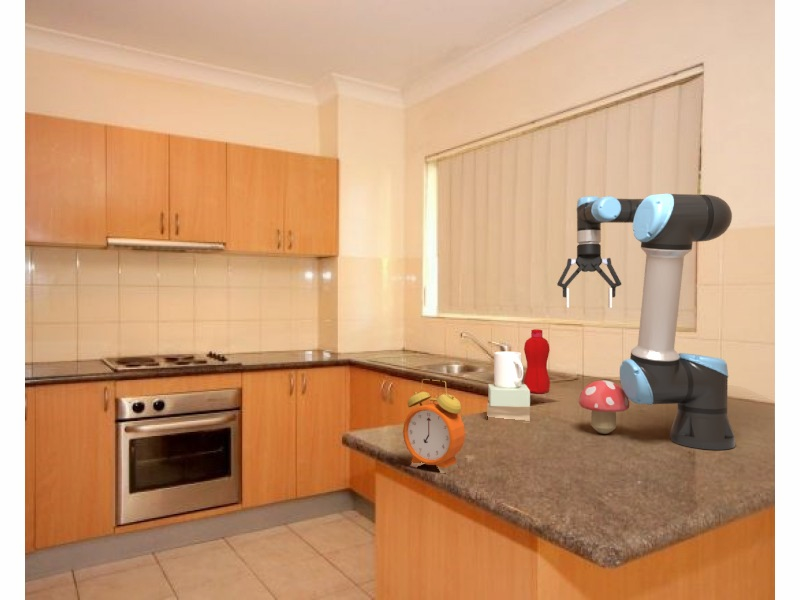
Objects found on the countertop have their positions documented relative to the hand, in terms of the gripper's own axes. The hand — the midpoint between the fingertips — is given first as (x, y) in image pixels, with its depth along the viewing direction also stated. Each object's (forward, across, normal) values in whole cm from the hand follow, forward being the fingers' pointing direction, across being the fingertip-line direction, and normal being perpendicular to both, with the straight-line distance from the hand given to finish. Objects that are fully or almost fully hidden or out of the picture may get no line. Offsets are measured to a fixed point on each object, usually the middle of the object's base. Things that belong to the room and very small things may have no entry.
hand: (588, 307), depth 188 cm
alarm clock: (+35, +41, +71) cm, 89 cm away
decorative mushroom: (+35, -1, +31) cm, 46 cm away
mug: (+25, +25, +15) cm, 38 cm away
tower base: (+35, +26, +14) cm, 46 cm away
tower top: (+30, +26, +15) cm, 42 cm away
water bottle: (+35, +16, -34) cm, 51 cm away
